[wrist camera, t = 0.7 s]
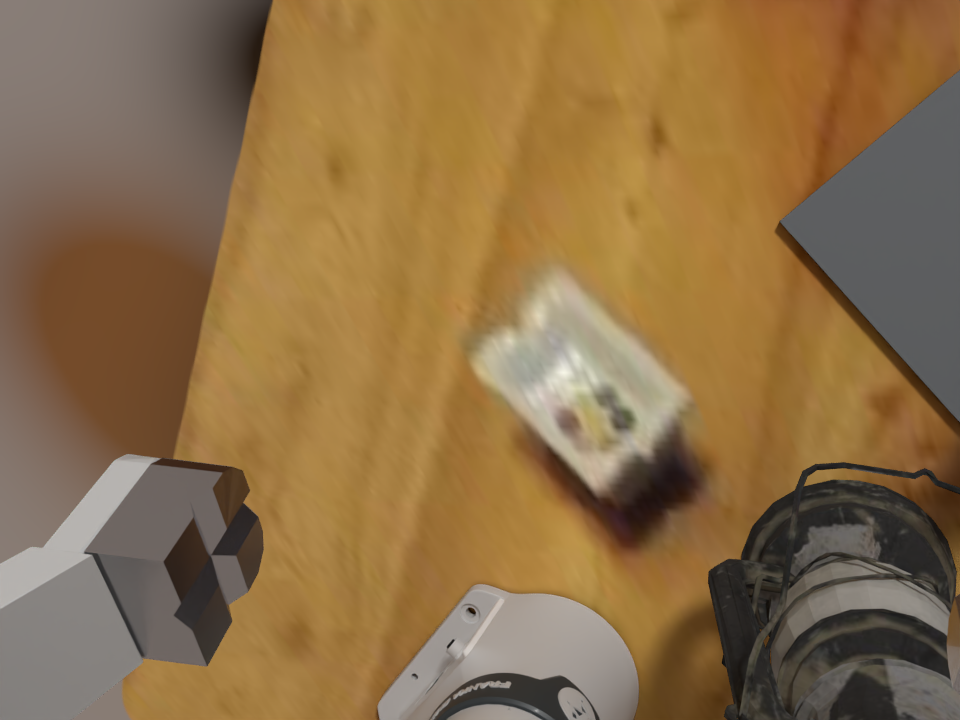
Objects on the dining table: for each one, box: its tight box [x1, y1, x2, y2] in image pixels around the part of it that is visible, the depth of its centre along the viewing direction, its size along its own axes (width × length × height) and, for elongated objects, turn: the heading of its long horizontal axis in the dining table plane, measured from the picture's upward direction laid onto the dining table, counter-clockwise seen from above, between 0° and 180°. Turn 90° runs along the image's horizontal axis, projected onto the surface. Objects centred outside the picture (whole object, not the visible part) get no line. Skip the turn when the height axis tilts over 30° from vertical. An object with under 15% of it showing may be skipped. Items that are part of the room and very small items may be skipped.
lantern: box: [708, 462, 960, 720], centre depth 51 cm, size 19×19×30 cm
